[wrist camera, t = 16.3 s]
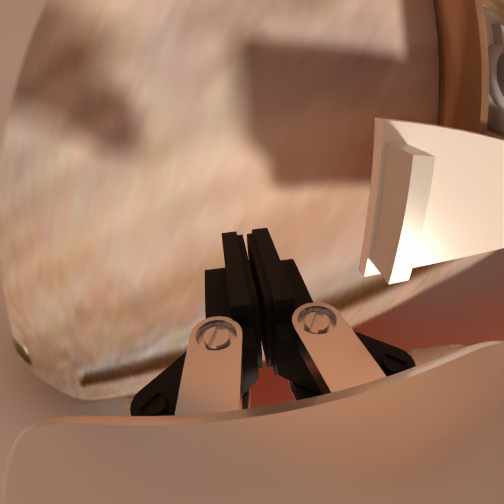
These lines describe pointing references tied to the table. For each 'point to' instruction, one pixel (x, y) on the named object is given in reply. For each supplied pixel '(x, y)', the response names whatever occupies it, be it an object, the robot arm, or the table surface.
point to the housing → (467, 65)
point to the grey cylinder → (497, 66)
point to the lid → (431, 197)
